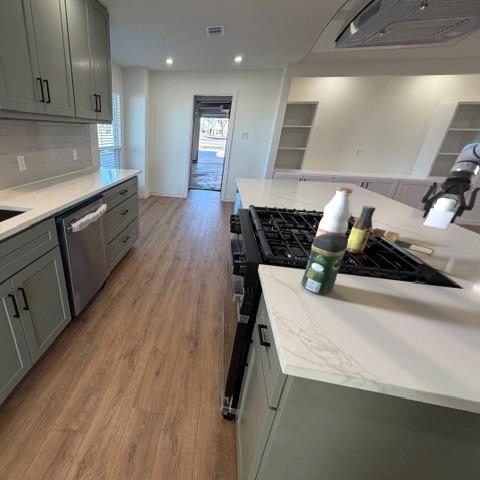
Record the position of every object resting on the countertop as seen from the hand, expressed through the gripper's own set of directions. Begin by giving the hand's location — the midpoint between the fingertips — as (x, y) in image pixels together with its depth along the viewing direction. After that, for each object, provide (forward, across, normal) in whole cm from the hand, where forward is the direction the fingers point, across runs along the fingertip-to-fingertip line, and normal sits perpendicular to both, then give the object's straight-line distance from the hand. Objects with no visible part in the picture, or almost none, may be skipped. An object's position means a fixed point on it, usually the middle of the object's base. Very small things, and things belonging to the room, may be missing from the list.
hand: (437, 218), depth 104 cm
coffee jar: (+59, -16, -37) cm, 72 cm away
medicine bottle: (0, 0, +5) cm, 5 cm away
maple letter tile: (+8, -12, +13) cm, 19 cm away
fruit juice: (+39, -25, -17) cm, 49 cm away
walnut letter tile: (+8, -17, +13) cm, 23 cm away
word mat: (+9, -8, +13) cm, 18 cm away
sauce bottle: (+28, -19, -6) cm, 34 cm away
